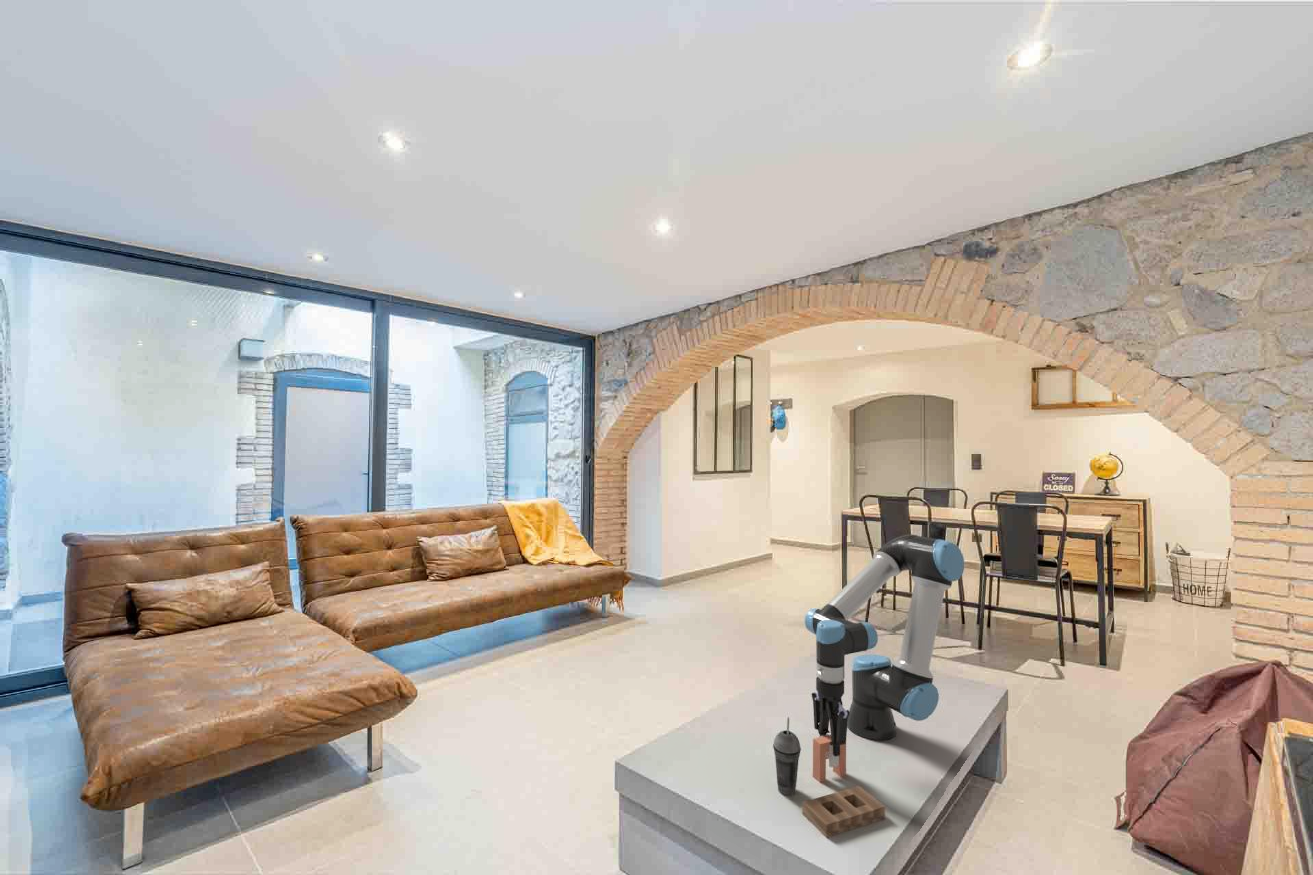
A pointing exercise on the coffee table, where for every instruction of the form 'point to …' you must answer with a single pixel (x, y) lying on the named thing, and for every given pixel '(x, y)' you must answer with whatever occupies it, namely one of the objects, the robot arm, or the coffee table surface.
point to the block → (820, 758)
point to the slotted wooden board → (843, 811)
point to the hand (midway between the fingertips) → (829, 761)
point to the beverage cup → (786, 760)
